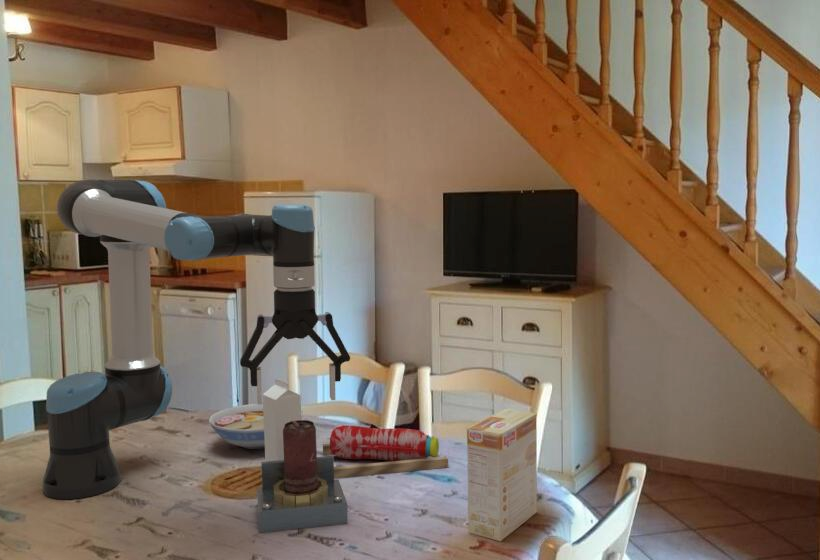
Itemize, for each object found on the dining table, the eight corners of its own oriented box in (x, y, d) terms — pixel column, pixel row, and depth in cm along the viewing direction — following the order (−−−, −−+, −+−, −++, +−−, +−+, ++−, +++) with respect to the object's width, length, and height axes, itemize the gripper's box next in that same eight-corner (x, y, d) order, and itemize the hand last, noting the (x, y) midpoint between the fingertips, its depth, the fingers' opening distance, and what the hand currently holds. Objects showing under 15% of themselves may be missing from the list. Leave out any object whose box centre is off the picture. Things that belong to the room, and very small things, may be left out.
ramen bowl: (226, 429, 198) (224, 399, 197) (312, 429, 197) (311, 398, 196) (195, 462, 173) (193, 427, 172) (293, 462, 172) (292, 427, 171)
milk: (278, 488, 157) (274, 385, 154) (265, 479, 162) (261, 379, 159) (304, 480, 161) (300, 380, 158) (290, 473, 165) (287, 375, 163)
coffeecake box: (505, 504, 147) (504, 407, 145) (538, 512, 143) (538, 412, 141) (465, 532, 134) (465, 426, 132) (501, 542, 130) (500, 433, 128)
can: (302, 486, 147) (299, 417, 145) (324, 494, 142) (322, 422, 141) (277, 496, 142) (275, 424, 140) (300, 504, 138) (297, 430, 136)
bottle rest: (331, 478, 162) (331, 469, 161) (322, 452, 179) (322, 444, 178) (448, 467, 167) (448, 458, 167) (428, 443, 184) (428, 435, 184)
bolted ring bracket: (259, 532, 136) (257, 484, 135) (257, 506, 147) (256, 462, 146) (347, 523, 139) (346, 476, 138) (338, 498, 151) (337, 455, 150)
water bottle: (342, 419, 183) (444, 425, 178) (341, 452, 182) (443, 459, 177) (327, 426, 171) (435, 432, 166) (326, 461, 171) (434, 468, 165)
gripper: (224, 293, 132) (228, 410, 135) (364, 288, 138) (365, 401, 140) (225, 287, 139) (228, 399, 142) (357, 284, 145) (358, 391, 147)
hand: (296, 400), depth 141 cm, fingers open, 13 cm apart
